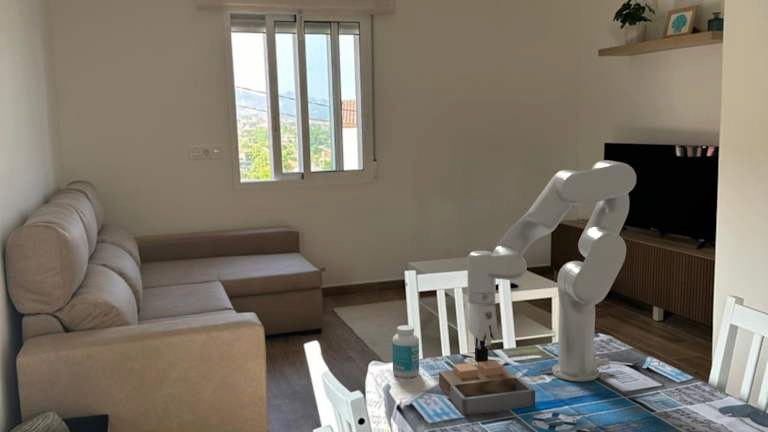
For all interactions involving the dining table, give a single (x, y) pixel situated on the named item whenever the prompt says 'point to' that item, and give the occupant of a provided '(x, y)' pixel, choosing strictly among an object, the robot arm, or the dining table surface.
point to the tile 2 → (490, 368)
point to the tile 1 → (465, 370)
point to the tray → (494, 399)
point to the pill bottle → (405, 352)
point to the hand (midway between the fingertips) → (481, 361)
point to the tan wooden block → (478, 383)
